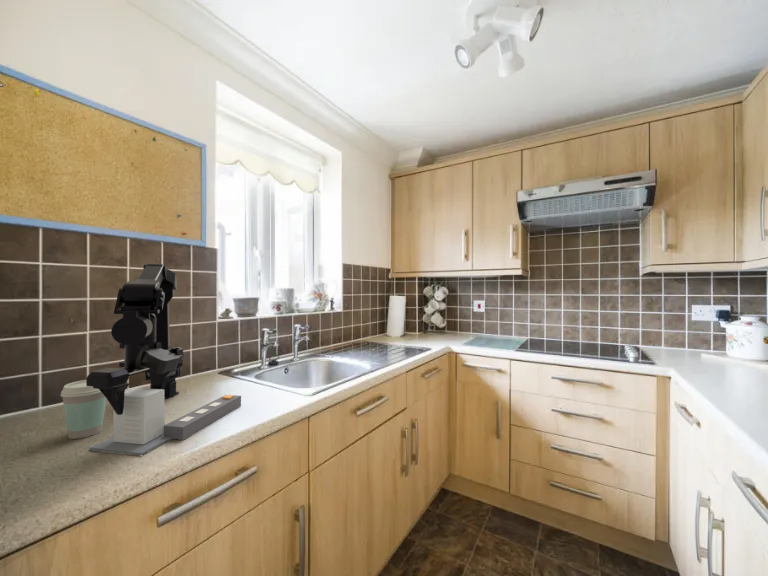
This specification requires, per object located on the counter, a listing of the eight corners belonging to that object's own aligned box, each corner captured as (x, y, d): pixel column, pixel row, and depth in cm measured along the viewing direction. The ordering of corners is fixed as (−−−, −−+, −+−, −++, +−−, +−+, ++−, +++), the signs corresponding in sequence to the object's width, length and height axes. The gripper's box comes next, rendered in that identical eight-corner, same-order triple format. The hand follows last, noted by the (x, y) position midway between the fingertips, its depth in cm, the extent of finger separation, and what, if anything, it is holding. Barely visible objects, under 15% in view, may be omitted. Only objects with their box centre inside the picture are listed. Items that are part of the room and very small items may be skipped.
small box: (165, 434, 74) (165, 389, 74) (143, 445, 69) (144, 397, 69) (135, 431, 76) (136, 387, 76) (112, 442, 70) (112, 394, 70)
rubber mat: (89, 450, 68) (89, 447, 68) (136, 428, 79) (137, 425, 79) (141, 456, 66) (141, 453, 66) (183, 432, 77) (183, 430, 77)
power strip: (163, 438, 73) (164, 423, 73) (225, 404, 95) (225, 393, 95) (182, 440, 73) (183, 425, 73) (240, 405, 94) (241, 394, 94)
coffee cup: (104, 422, 82) (105, 376, 82) (112, 432, 76) (113, 382, 76) (57, 434, 75) (58, 383, 75) (62, 445, 70) (62, 391, 70)
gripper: (132, 346, 62) (131, 426, 62) (202, 333, 80) (201, 395, 80) (84, 344, 63) (83, 422, 63) (163, 332, 82) (162, 392, 82)
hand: (139, 406), depth 72 cm, fingers open, 9 cm apart
